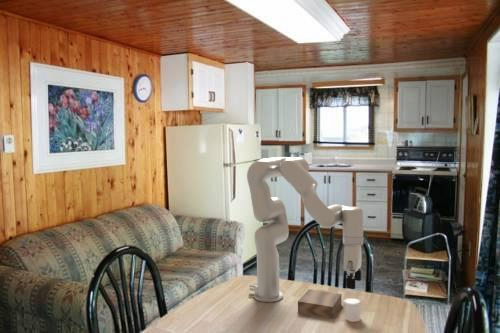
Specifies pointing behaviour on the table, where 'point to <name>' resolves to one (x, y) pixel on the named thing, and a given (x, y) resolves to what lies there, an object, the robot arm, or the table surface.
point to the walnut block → (319, 303)
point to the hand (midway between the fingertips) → (353, 284)
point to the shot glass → (352, 309)
